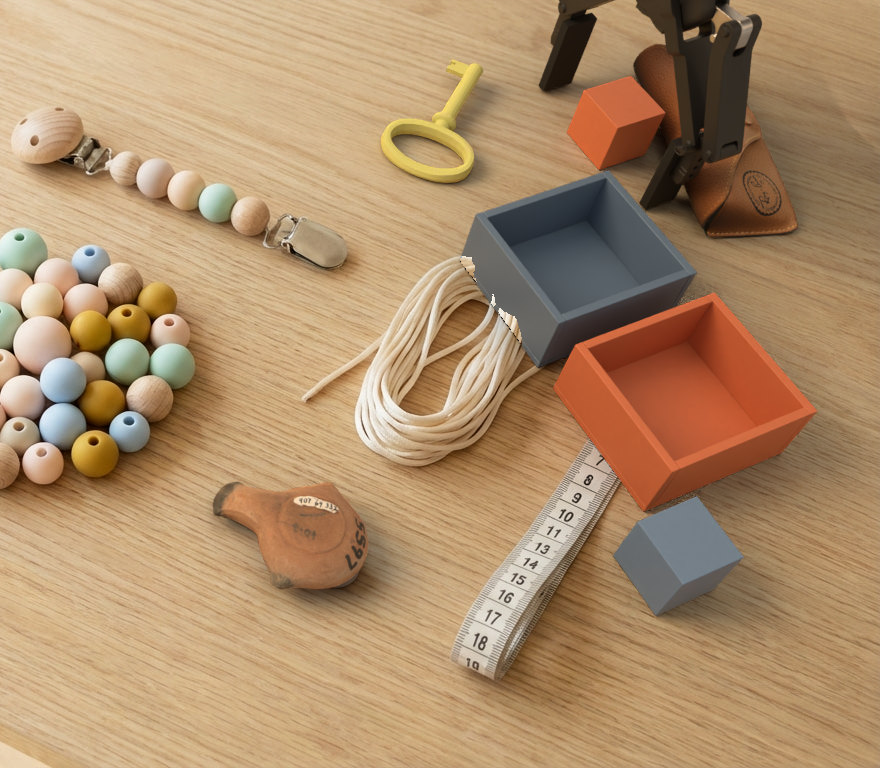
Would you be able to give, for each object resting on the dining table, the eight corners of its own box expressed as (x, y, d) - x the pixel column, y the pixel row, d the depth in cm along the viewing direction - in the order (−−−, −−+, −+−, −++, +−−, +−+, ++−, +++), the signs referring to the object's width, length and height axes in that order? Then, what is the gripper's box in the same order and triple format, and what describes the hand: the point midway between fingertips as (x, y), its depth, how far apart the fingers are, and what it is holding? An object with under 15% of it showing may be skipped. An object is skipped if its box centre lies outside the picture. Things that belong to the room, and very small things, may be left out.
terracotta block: (612, 118, 97) (631, 75, 93) (645, 155, 95) (665, 112, 91) (566, 132, 96) (583, 89, 92) (598, 170, 93) (617, 128, 90)
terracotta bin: (686, 336, 85) (714, 291, 81) (782, 452, 80) (818, 411, 75) (552, 388, 82) (575, 344, 78) (643, 512, 77) (672, 472, 72)
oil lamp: (318, 469, 78) (203, 509, 76) (322, 430, 75) (202, 470, 73) (383, 580, 73) (261, 625, 71) (391, 542, 70) (263, 588, 68)
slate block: (669, 530, 76) (697, 495, 72) (714, 589, 74) (744, 557, 70) (612, 555, 75) (637, 521, 71) (655, 616, 73) (683, 584, 69)
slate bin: (586, 217, 91) (608, 169, 87) (670, 317, 86) (697, 272, 81) (458, 261, 88) (475, 213, 84) (537, 368, 83) (559, 323, 78)
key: (479, 80, 99) (485, 60, 97) (469, 190, 92) (476, 170, 90) (390, 66, 99) (395, 45, 97) (374, 174, 92) (379, 154, 90)
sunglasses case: (809, 230, 90) (800, 176, 85) (711, 264, 93) (697, 215, 88) (727, 65, 100) (715, 9, 95) (641, 101, 103) (625, 48, 98)
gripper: (555, -195, 83) (478, 51, 100) (797, 35, 70) (661, 269, 88) (644, -215, 85) (554, 30, 102) (895, 5, 72) (743, 240, 90)
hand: (603, 141), depth 95 cm, fingers open, 13 cm apart
